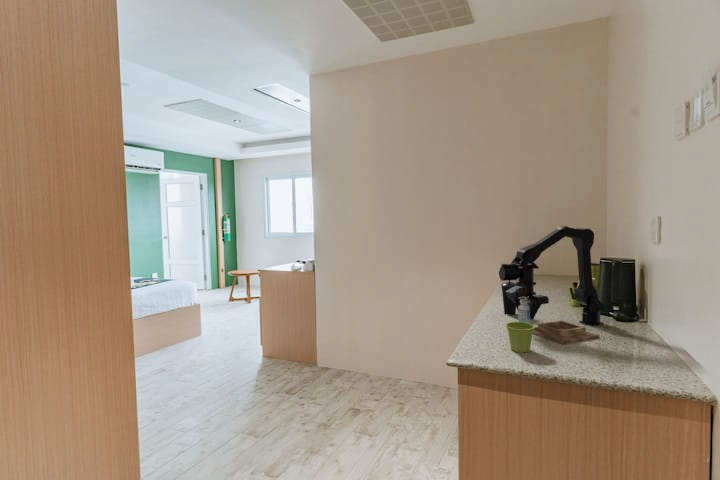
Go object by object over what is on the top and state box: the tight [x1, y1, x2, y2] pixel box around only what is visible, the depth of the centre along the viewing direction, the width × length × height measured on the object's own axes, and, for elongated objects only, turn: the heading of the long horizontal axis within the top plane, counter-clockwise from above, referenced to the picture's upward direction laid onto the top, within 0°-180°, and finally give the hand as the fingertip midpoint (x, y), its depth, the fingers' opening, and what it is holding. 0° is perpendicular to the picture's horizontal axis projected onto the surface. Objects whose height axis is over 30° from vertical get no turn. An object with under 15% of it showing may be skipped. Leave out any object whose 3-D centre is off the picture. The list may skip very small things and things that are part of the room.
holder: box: [532, 320, 600, 345], centre depth 159 cm, size 18×18×4 cm
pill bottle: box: [517, 299, 535, 326], centre depth 170 cm, size 6×6×11 cm
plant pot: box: [505, 321, 536, 354], centre depth 143 cm, size 9×9×9 cm
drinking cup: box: [500, 280, 517, 316], centre depth 192 cm, size 8×8×20 cm
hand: (526, 317), depth 170 cm, fingers closed on pill bottle, 6 cm apart
